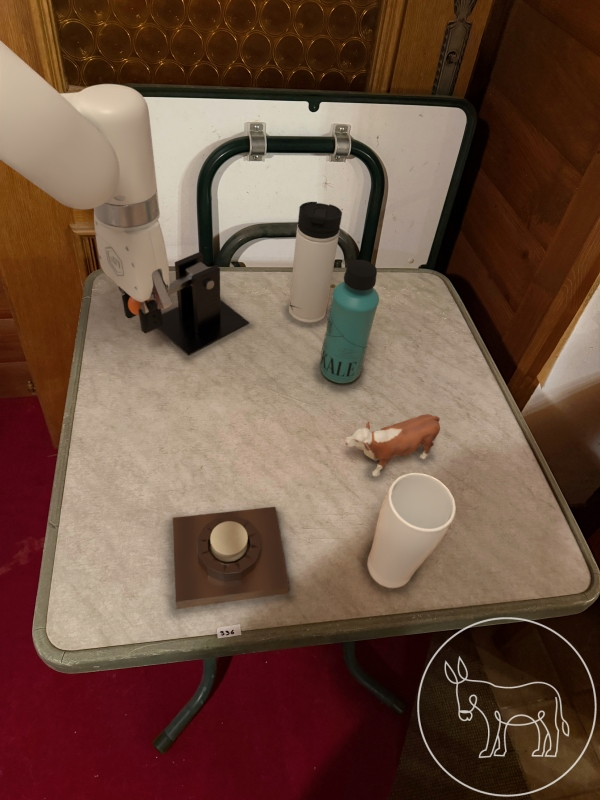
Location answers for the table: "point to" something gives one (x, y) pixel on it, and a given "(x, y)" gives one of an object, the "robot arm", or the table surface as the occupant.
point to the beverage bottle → (350, 323)
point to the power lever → (171, 286)
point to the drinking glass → (409, 527)
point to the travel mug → (313, 261)
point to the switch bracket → (199, 310)
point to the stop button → (229, 541)
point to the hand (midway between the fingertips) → (144, 320)
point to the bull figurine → (396, 439)
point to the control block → (228, 581)
